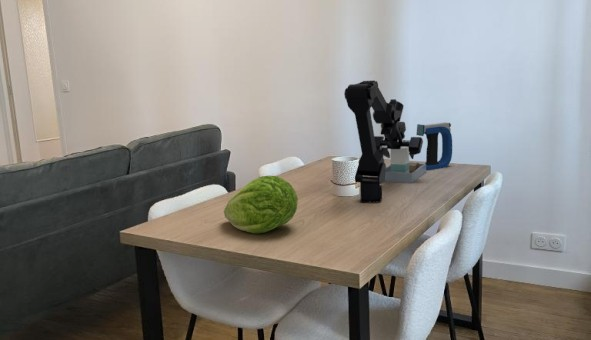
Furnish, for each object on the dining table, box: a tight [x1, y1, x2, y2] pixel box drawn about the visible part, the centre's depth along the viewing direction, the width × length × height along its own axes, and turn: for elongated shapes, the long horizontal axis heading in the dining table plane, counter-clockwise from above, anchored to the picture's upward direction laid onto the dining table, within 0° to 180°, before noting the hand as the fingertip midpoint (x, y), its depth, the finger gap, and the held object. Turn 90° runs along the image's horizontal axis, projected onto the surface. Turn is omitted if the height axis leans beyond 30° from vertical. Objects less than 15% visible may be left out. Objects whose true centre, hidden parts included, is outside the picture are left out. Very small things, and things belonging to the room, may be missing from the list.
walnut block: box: [409, 161, 420, 173], centre depth 201 cm, size 6×8×4 cm
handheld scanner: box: [416, 121, 453, 171], centre depth 208 cm, size 4×16×19 cm, turn 115°
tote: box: [384, 162, 427, 184], centre depth 197 cm, size 20×13×4 cm, turn 151°
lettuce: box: [223, 175, 299, 234], centre depth 142 cm, size 15×25×16 cm
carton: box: [390, 147, 410, 173], centre depth 193 cm, size 6×6×12 cm
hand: (401, 157), depth 193 cm, fingers open, 9 cm apart
